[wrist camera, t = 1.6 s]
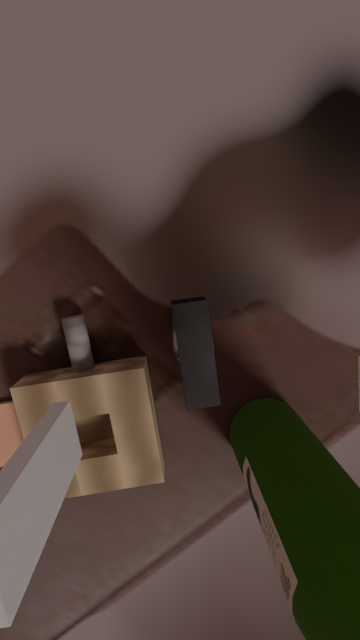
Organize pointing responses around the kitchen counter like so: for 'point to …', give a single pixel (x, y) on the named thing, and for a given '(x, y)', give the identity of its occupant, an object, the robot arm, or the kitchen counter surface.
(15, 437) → the mat
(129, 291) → the kitchen counter surface
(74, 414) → the jig
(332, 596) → the wine bottle
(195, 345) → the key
